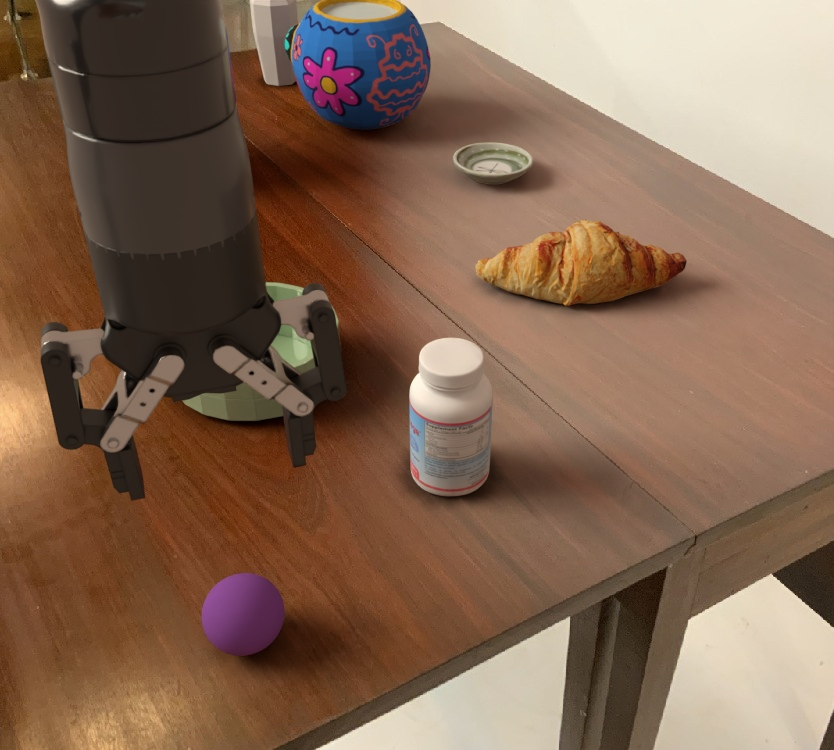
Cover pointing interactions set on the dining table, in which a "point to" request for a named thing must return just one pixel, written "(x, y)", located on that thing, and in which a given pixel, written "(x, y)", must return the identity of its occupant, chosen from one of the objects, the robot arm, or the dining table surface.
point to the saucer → (492, 162)
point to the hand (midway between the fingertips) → (219, 473)
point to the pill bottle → (450, 418)
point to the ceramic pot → (360, 61)
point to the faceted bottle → (274, 38)
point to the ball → (243, 614)
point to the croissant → (581, 266)
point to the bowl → (246, 399)
